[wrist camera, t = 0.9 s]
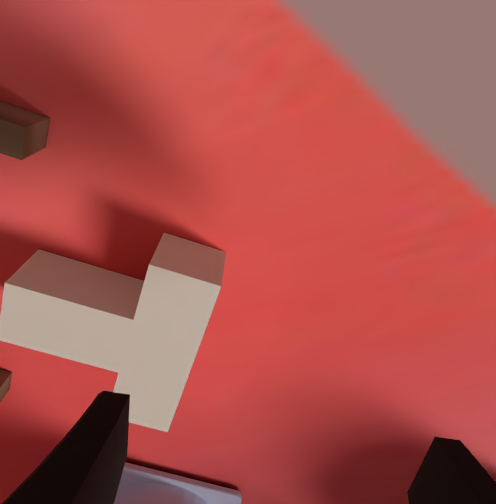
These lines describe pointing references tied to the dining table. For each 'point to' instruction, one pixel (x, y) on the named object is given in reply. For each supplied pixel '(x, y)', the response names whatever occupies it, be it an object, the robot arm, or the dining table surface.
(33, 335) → the t block
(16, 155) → the wooden u-shaped block
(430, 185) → the dining table surface
